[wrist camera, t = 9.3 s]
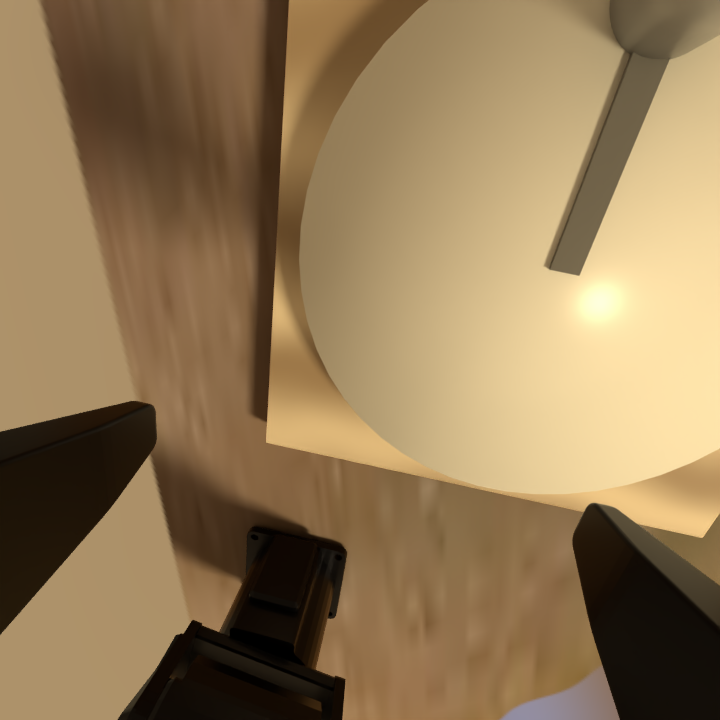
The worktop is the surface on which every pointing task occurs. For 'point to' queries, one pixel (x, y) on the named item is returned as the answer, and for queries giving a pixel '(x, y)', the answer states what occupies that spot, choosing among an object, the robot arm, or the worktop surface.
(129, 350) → the worktop surface
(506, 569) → the worktop surface
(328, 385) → the base plate
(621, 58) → the dial
